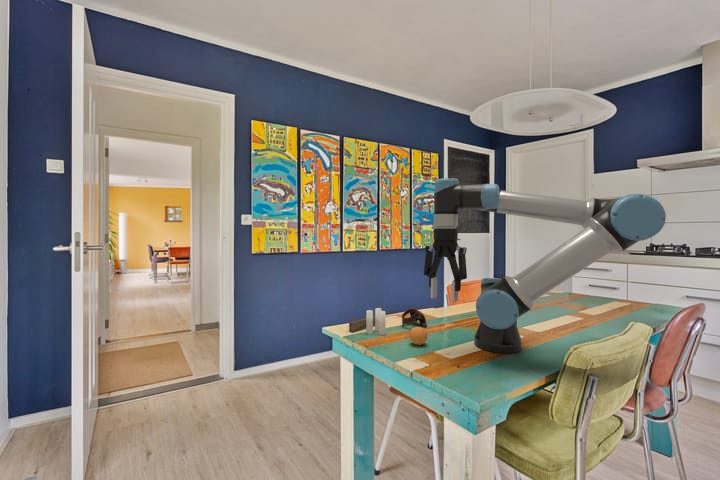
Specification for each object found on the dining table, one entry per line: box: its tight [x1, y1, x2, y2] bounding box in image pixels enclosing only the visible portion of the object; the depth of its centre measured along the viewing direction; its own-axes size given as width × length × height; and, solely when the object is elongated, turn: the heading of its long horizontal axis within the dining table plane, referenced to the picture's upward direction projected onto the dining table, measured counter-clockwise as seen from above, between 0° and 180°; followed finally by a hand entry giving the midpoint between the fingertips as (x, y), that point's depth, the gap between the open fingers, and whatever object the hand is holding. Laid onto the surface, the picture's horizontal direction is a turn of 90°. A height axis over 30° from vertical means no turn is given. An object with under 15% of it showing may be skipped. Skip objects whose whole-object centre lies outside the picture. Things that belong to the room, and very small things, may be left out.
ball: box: [409, 326, 428, 346], centre depth 123 cm, size 6×6×6 cm
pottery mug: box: [401, 307, 428, 328], centre depth 147 cm, size 12×10×8 cm
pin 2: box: [374, 307, 383, 332], centre depth 139 cm, size 2×2×8 cm
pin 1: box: [365, 309, 374, 335], centre depth 135 cm, size 2×2×8 cm
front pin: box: [378, 310, 387, 336], centre depth 134 cm, size 2×2×8 cm
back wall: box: [348, 316, 375, 333], centre depth 141 cm, size 2×13×4 cm, turn 137°
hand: (444, 299), depth 116 cm, fingers open, 7 cm apart
